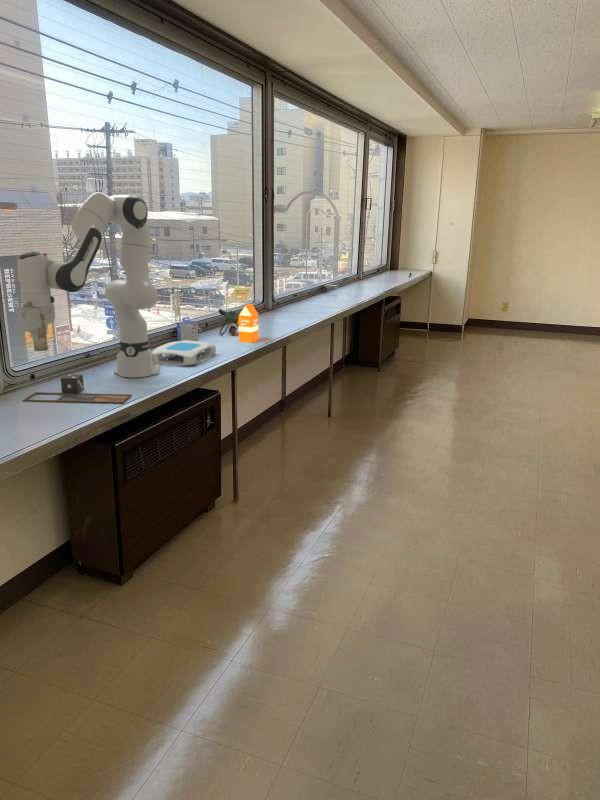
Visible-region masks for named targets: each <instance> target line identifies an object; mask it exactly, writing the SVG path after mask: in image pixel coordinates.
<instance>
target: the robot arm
mask: <svg viewBox="0 0 600 800" xmlns="http://www.w3.org/2000/svg"><path fill="white" fill-rule="evenodd" d="M148 211H149V210H148V206H147V202H145V200H144V199H143V198H141V197H139V196H136V195H126V194H118V195H107V193H104V192H94V193H92V194H91V195H89V197H88V198H86V200H84V202H83V203H82V205H80V207H79V208H78V209H77V211H76V212H75V214H74V216H73V218H72V220H71V222H70V223H71V228H72V231H73V233H74V235H75V236H76V238H78V240H80V244H79V245H78V248H77V249H76V252H75V254H74V256H73V257H72V259H70V260H68V261H64V262H63V261H57V260H56V261H55V260H53V259H50V258H48V257H46V256H45V255H43V253H41V252H38V251H34V252H33V251H32V252H25V253H22V254H21V255H20V256H19V257H18V260H17V273H18V274H17V277H18V281H19V283H20V297H21V309H20V310H19V312H18V313H19V320H18V321H19V329H20V331H21V332H22V333H23V332H24V333H28V332H29V334H30V335H31V337H32V341H34V342H38V341H39V340H40V339H39V336H38V334H37V332H38V330H37V329H39V328H41V327H42V322H41V316H40V314H41V313H42V314H43V315H44V316H45V329H46V337H48V334H47V333H48V325H50V324H53V323H55V320H56V309H55V305H54V303H55V301H56V299H55V296H52V295H51V294H49V289H54V290H60V291H65V292H69V293H77V292H79V291H81V290H82V289H83V288H84V286H85V285H86V282H87V278H88V273H89V270H90V267H91V266H92V264H93V262H94V259H95V258H96V255H97V254H98V251H99V249H100V247H101V244H102V241H103V240H102V239H103V237H102V236H103V233H104V232H105V230H106V229H107V226H108V225H117V226H118V225H119V226H120V227H121V231H122V234H121V241H120V251H119V265H120V267H121V268H122V269H123V270H124V273H125V277H126V278H125V279H115V280H111V281H109V282H108V283H107V284H106V286H105V290H104V295H105V298H106V299H107V301H108V302H109V303H110V305H111V307H112V308H113V310H114V313H115V316H116V318H117V322H118V328H119V337H120V338H119V340H120V341H119V342H118V343H119V344H118V346H119V350H120V351H119V352H118V353H117V354H116V369H115V370H113V374H115V375H118V376H120V377H122V378H123V377H124V378H144V377H149V376H156V375H159V374H160V369H161V365H160V364H157V363H155V361H154V354H153V353H152V351H151V349H150V348H151V346H150V341H151V340H150V338H148V323H147V321H146V319H145V318H144V317H143V316H142V314H141V312H140V310H146V309H147V310H148V309H152V308H154V307H155V305H156V304H157V303H158V300H159V294H158V290H157V289H156V287H155V286H154V284H153V282H152V279H151V276H150V271H149V254H150V239H151V237H150V226H149V223H148V222H147V220H148V214H149V213H148ZM34 342H33V343H34Z"/></svg>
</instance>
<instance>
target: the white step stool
mask: <svg viewBox="0 0 600 800" xmlns="http://www.w3.org/2000/svg"><path fill="white" fill-rule="evenodd" d="M151 352H152V353H153V354H154V361H155V364H159V365H160V364H167V365H166V366H171V365H179V366H178V367H187V365H188V366H193V365H194V364H195V365H199V364H201V363H202V362H201V361H203V360H205V359H207V358H209V357H211V356H214V354H215V353H216V345H215V344H212V343H211V342H207V341H199V340H198V341H188V340H185V341H178V340H177V341H173V342H167V343H165V344H162V345H160V346H157V347H156V348H155V349H153V350H152V351H151ZM176 355H177V356H178V357H182V358H183V361H181V360H170V359H172V358H174V357H173V356H175V357H177V356H176ZM197 355H201V356H197ZM171 357H172V358H171ZM169 358H170V359H169ZM211 358H212V357H211ZM167 359H168V360H167ZM209 359H210V358H209ZM207 360H208V359H207ZM205 361H206V360H205ZM200 362H201V363H200ZM203 362H204V361H203ZM198 363H199V364H198Z"/></svg>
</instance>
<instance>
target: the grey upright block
mask: <svg viewBox="0 0 600 800" xmlns="http://www.w3.org/2000/svg"><path fill="white" fill-rule="evenodd" d="M182 320H183V321H182V322H177V323H176V329H177V330H176V331H177V342H178V341H185V340H188V341H199V325H198V324H199V323H198V322H197V321H194V320H191V319H190V317H188V316H187V317H186V316H185V317H182Z"/></svg>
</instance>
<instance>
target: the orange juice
mask: <svg viewBox="0 0 600 800" xmlns="http://www.w3.org/2000/svg"><path fill="white" fill-rule="evenodd" d="M238 318H239V326H238V342H239V341H240V342H239V343H243V342H250V343H249V344H253V343H252V342H254V341H256V340H258V341H259V313H258V311H257V310H256V308H255V306H254V305H253V303H249V304H246V305H244V307H243V308H242V310H241V311H240V313H239V315H238ZM256 342H257V341H256ZM254 343H255V342H254Z"/></svg>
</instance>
